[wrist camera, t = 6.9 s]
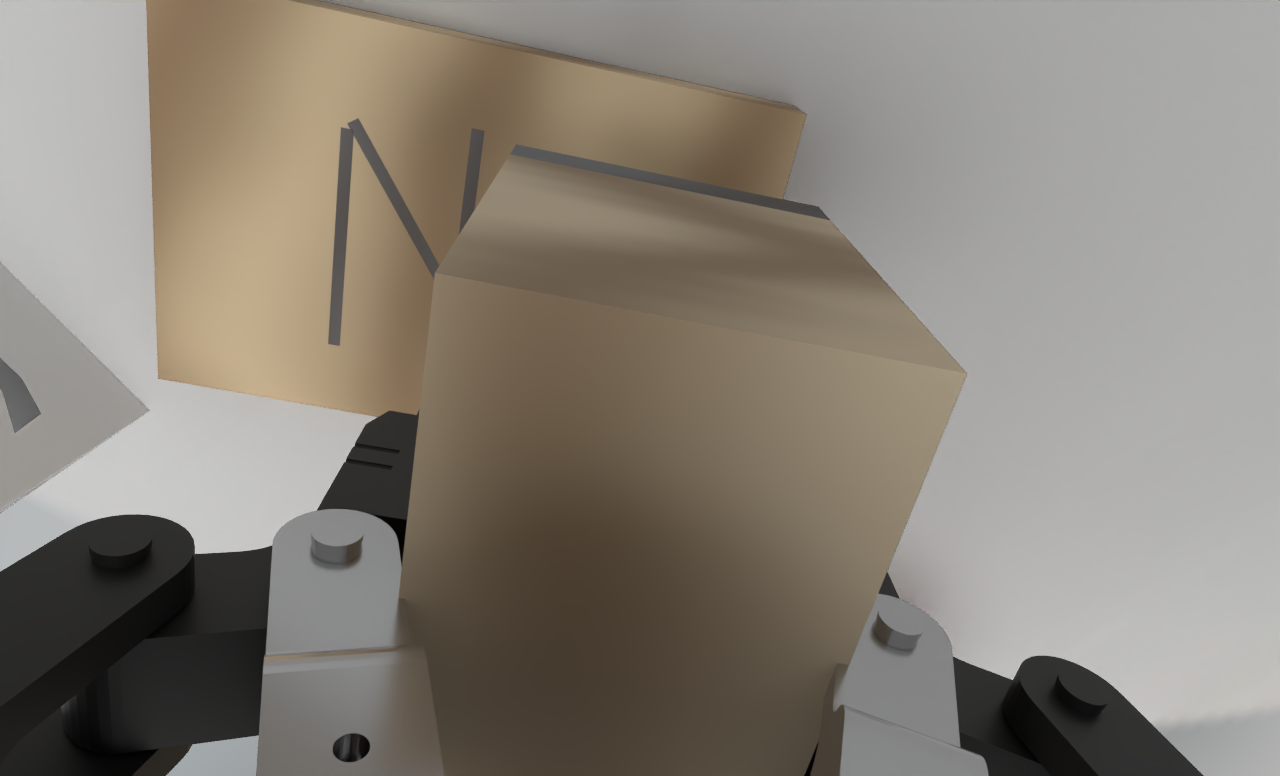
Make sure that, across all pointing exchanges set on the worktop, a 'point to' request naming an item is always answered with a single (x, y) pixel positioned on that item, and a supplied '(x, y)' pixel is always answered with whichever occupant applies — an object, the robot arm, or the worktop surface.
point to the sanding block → (655, 473)
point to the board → (374, 179)
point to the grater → (52, 394)
